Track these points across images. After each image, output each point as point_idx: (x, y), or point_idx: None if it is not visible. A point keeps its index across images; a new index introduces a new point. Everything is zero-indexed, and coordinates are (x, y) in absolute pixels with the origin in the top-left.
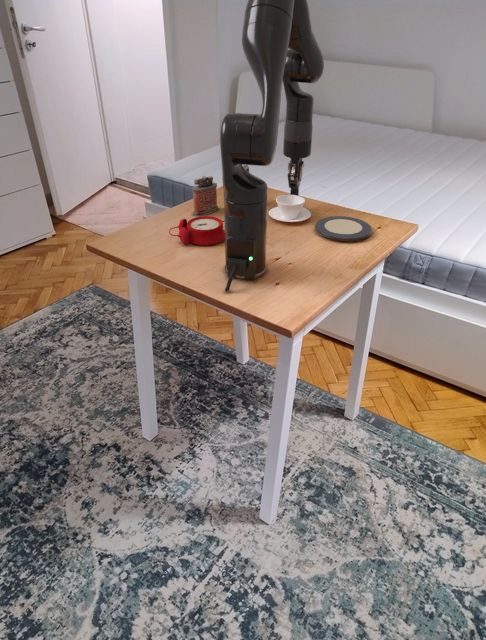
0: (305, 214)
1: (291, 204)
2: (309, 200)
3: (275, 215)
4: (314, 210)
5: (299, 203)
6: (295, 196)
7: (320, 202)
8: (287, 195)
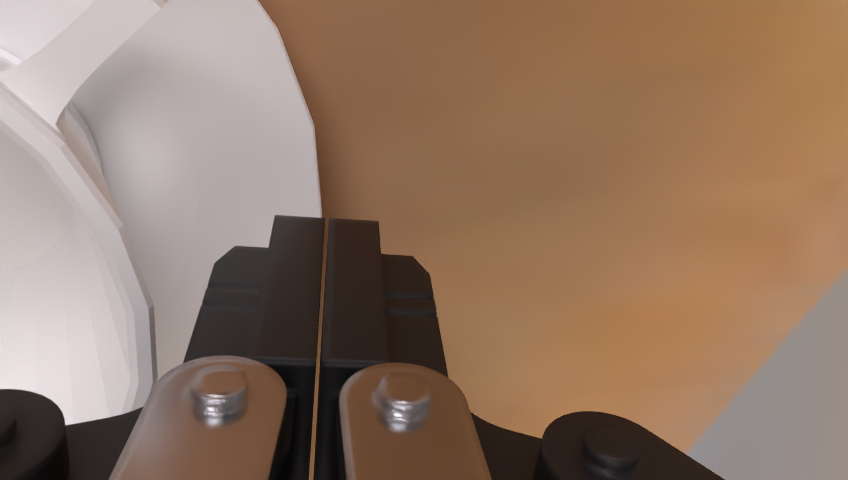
0: None
1: (94, 243)
2: (745, 355)
3: None
4: None
5: None
6: (124, 386)
7: None
8: (91, 229)
